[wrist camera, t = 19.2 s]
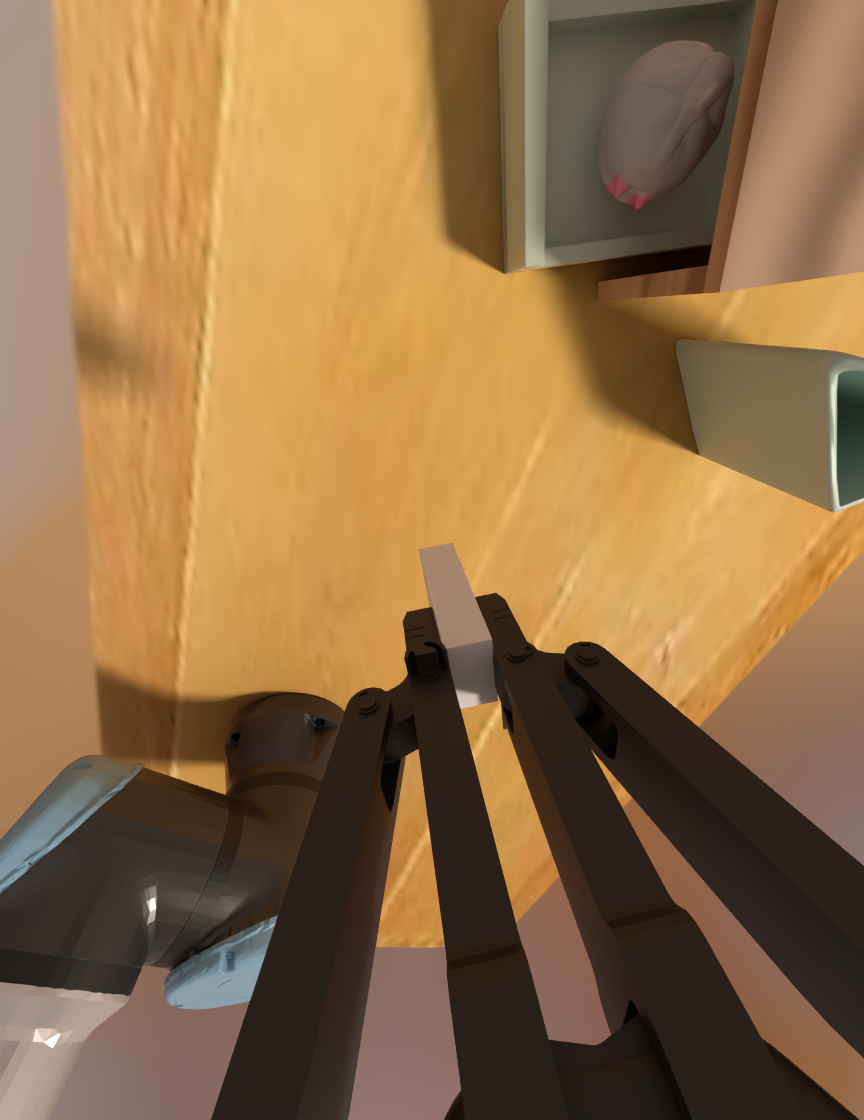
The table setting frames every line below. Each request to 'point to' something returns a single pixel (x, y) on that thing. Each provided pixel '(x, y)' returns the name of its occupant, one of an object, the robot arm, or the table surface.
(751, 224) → the wooden open box
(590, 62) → the tray
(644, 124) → the figurine
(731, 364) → the grey piece
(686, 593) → the table surface
